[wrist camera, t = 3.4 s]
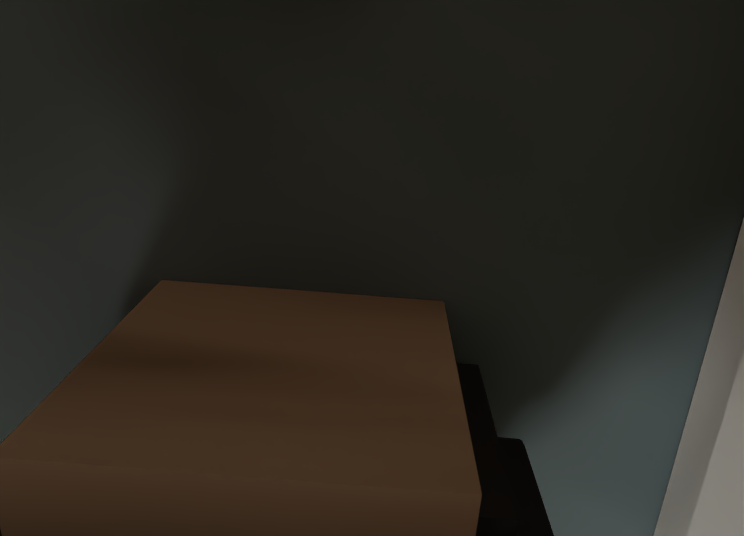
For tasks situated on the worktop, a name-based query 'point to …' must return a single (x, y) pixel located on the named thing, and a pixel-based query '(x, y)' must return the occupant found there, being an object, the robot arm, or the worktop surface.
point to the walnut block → (251, 423)
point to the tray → (713, 429)
